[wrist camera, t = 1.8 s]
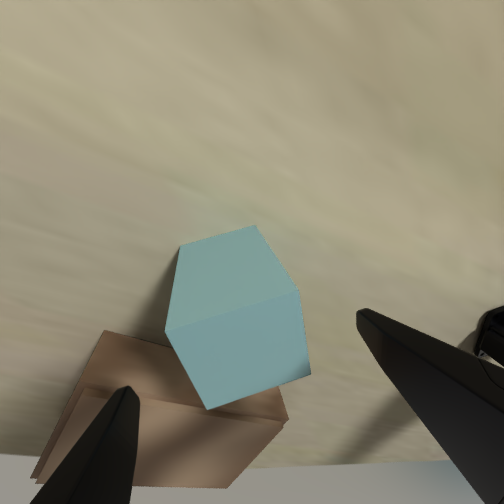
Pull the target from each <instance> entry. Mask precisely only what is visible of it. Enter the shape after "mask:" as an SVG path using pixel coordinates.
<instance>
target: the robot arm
mask: <svg viewBox="0 0 504 504" xmlns="http://www.w3.org/2000/svg"><path fill="white" fill-rule="evenodd" d="M356 326H357V329H358V332H359V333H360V335H361V336H362V338H363V340H364V341H365V343H366V344H367V346H368V348H369V349H370V351H371V353H372V354H373V356H374V357H375V359H376V361H377V362H378V364H379V365H380V367H381V368H382V370H383V371H384V372H385V374H386V375H387V376H388V378H389V379H390V380H391V381H392V383H393V384H394V385H395V387H396V388H397V389H398V391H399V392H400V393H401V395H402V396H403V397H404V399H405V400H406V401H407V402H408V404H409V405H410V406H411V408H412V409H413V410H414V412H415V413H416V414H417V416H418V417H419V418H420V419H421V421H422V422H423V423H424V425H425V426H426V427H427V429H428V430H429V431H430V433H431V434H432V435H433V437H434V438H435V439H436V440H437V442H438V443H439V444H440V446H441V447H442V448H443V450H444V451H445V452H446V454H447V455H448V456H449V457H450V459H451V460H452V461H453V463H454V464H455V465H456V467H457V468H458V469H459V471H460V472H461V473H462V474H463V476H464V477H465V478H466V480H467V481H468V482H469V484H470V485H471V486H472V488H473V489H474V490H475V491H476V493H477V494H478V495H479V497H480V498H481V499H482V501H483V502H484V503H485V504H504V368H502V367H499V366H497V365H495V364H492V363H490V362H488V361H486V360H483V359H481V357H484V356H487V355H489V356H490V357H491V358H493V359H494V360H495V361H497V362H498V363H499V364H501V365H502V366H503V367H504V307H501V308H498V309H495V310H493V311H491V312H490V313H489V314H488V315H487V318H486V321H485V324H484V327H483V329H482V332H481V335H480V338H479V341H478V344H477V347H476V350H475V353H474V354H475V355H476V356H477V357H478V358H477V357H476V356H474V355H472V354H470V353H467V352H465V351H463V350H461V349H458V348H456V347H454V346H452V345H449V344H447V343H445V342H443V341H440V340H438V339H436V338H434V337H431V336H429V335H427V334H425V333H422V332H420V331H418V330H416V329H413V328H411V327H409V326H407V325H404V324H402V323H400V322H398V321H395V320H393V319H391V318H389V317H386V316H384V315H382V314H380V313H377V312H375V311H373V310H371V309H368V308H364V309H361V310H358V311H357V312H356ZM139 419H140V399H139V397H138V395H137V394H136V393H135V391H134V390H133V389H132V387H131V386H129V385H127V386H124V387H121V388H118V389H117V390H116V391H115V392H114V393H113V394H112V396H111V397H110V398H109V400H108V401H107V402H106V404H105V405H104V406H103V408H102V409H101V410H100V412H99V413H98V414H97V415H96V417H95V418H94V419H93V421H92V422H91V423H90V425H89V426H88V427H87V429H86V430H85V431H84V433H83V434H82V435H81V437H80V438H79V439H78V441H77V442H76V443H75V444H74V446H73V447H72V448H71V450H70V451H69V452H68V454H67V455H66V456H65V458H64V459H63V460H62V462H61V463H60V464H59V466H58V467H57V468H56V470H55V471H54V472H53V473H52V475H51V476H50V477H49V479H48V480H47V481H46V483H45V484H44V485H43V487H42V488H41V489H40V491H39V492H38V493H37V495H36V496H35V497H34V499H33V500H32V501H31V502H30V504H129V503H130V496H131V490H132V484H133V477H134V471H135V465H136V458H137V450H138V436H139Z"/></svg>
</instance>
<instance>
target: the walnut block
mask: <svg viewBox="0 0 504 504" xmlns="http://www.w3.org/2000/svg"><path fill="white" fill-rule="evenodd" d="M127 385H129V386H131V387H132V389H133V390H134V391H135V393H136V394H137V395H138V397H139V399H140V419H139V436H138V450H137V458H136V465H135V471H134V477H133V484H132V486H149V487H151V486H152V487H188V488H225V489H226V488H228V487H229V486H230V484H231V483H232V482H233V481H234V480H235V479H236V478H237V477H238V476H239V475H240V474H241V473H242V472H243V471H244V469H245V468H246V467H247V466H248V465H249V464H250V463H251V462H252V461H253V460H254V459H255V458H256V457H257V455H258V454H259V453H260V452H261V451H262V450H263V449H264V448H265V447H266V446H267V445H268V444H269V443H270V442H271V440H272V439H273V438H274V437H275V436H276V435H277V434H278V433H279V432H280V431H281V430H282V429H283V425H284V424H285V423H286V422H287V421H288V420H289V418H288V415H287V411H286V408H285V405H284V402H283V399H282V396H281V393H280V390H279V387H278V386H276V387H273V388H270V389H267V390H264V391H261V392H259V393H256V394H253V395H250V396H247V397H244V398H241V399H238V400H235V401H232V402H230V403H227V404H224V405H221V406H218V407H215V408H212V409H209V410H207V409H206V407H205V405H204V404H203V402H202V400H201V398H200V396H199V394H198V392H197V391H196V389H195V387H194V385H193V383H192V381H191V379H190V378H189V376H188V374H187V372H186V370H185V368H184V366H183V365H182V363H181V361H180V359H179V357H178V355H177V354H176V352H175V350H174V349H173V348H170V347H166V346H162V345H158V344H155V343H151V342H147V341H143V340H140V339H136V338H132V337H128V336H125V335H121V334H117V333H113V332H110V331H106V330H104V332H103V334H102V336H101V338H100V340H99V342H98V344H97V346H96V348H95V350H94V352H93V354H92V356H91V358H90V360H89V362H88V364H87V366H86V368H85V370H84V372H83V374H82V376H81V378H80V380H79V382H78V384H77V386H76V388H75V390H74V392H73V394H72V396H71V398H70V400H69V401H68V403H67V405H66V407H65V409H64V411H63V413H62V415H61V417H60V419H59V421H58V423H57V425H56V427H55V429H54V431H53V433H52V435H51V437H50V439H49V441H48V443H47V445H46V447H45V449H44V451H43V453H42V455H41V457H40V459H39V461H38V464H37V465H36V467H35V469H34V471H33V473H32V475H31V477H30V478H35V479H36V478H37V481H36V483H37V484H45V483H46V481H47V480H48V479H49V477H50V476H51V475H52V473H53V472H54V471H55V470H56V468H57V467H58V466H59V464H60V463H61V462H62V460H63V459H64V458H65V456H66V455H67V454H68V452H69V451H70V450H71V448H72V447H73V446H74V444H75V443H76V442H77V441H78V439H79V438H80V437H81V435H82V434H83V433H84V431H85V430H86V429H87V427H88V426H89V425H90V423H91V422H92V421H93V419H94V418H95V417H96V415H97V414H98V413H99V412H100V410H101V409H102V408H103V406H104V405H105V404H106V402H107V401H108V400H109V398H110V397H111V396H112V394H113V393H114V392H115V391H116V390H117V389H118V388H121V387H124V386H127Z"/></svg>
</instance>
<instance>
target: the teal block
mask: <svg viewBox="0 0 504 504" xmlns="http://www.w3.org/2000/svg"><path fill="white" fill-rule="evenodd" d="M165 333H166V335H167V337H168V339H169V341H170V342H171V344H172V346H173V348H174V350H175V352H176V354H177V355H178V357H179V359H180V361H181V363H182V365H183V366H184V368H185V370H186V372H187V374H188V376H189V378H190V379H191V381H192V383H193V385H194V387H195V389H196V391H197V392H198V394H199V396H200V398H201V400H202V402H203V404H204V405H205V407H206V409H207V410H209V409H212V408H215V407H218V406H221V405H224V404H227V403H230V402H232V401H235V400H238V399H241V398H244V397H247V396H250V395H253V394H256V393H259V392H261V391H264V390H267V389H270V388H273V387H276V386H279V385H282V384H285V383H288V382H290V381H293V380H296V379H299V378H302V377H305V376H308V375H311V370H310V363H309V356H308V350H307V343H306V336H305V329H304V323H303V316H302V309H301V302H300V296H299V290H298V288H297V287H296V285H295V284H294V282H293V281H292V279H291V278H290V276H289V275H288V273H287V272H286V270H285V269H284V267H283V266H282V264H281V263H280V261H279V260H278V258H277V257H276V256H275V254H274V253H273V251H272V250H271V248H270V247H269V245H268V244H267V242H266V241H265V239H264V238H263V236H262V235H261V233H260V232H259V230H258V229H257V227H256V226H255V225H253V226H249V227H246V228H242V229H239V230H235V231H232V232H228V233H224V234H221V235H217V236H214V237H210V238H206V239H203V240H199V241H196V242H192V243H189V244H185V245H181V246H180V251H179V256H178V262H177V267H176V272H175V278H174V283H173V289H172V294H171V300H170V305H169V311H168V316H167V321H166V327H165Z"/></svg>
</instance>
